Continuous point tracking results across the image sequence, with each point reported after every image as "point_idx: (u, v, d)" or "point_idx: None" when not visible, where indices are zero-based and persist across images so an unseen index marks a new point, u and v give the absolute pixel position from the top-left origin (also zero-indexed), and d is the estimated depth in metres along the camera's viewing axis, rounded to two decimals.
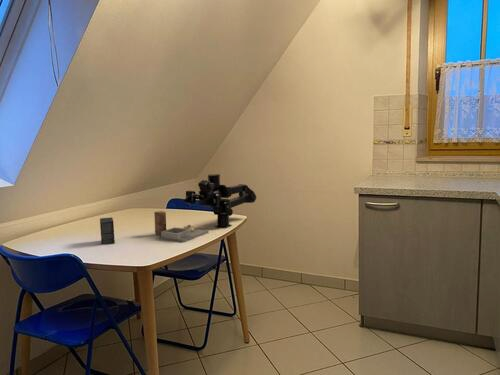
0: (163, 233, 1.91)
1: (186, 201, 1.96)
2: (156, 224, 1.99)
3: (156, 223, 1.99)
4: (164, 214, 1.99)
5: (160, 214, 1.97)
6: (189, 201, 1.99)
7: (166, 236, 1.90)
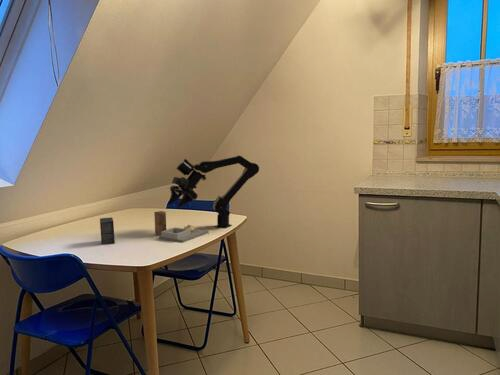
0: (163, 233, 1.91)
1: (171, 202, 2.08)
2: (156, 224, 1.99)
3: (156, 223, 1.99)
4: (164, 214, 1.99)
5: (160, 214, 1.97)
6: (175, 198, 2.09)
7: (166, 236, 1.90)
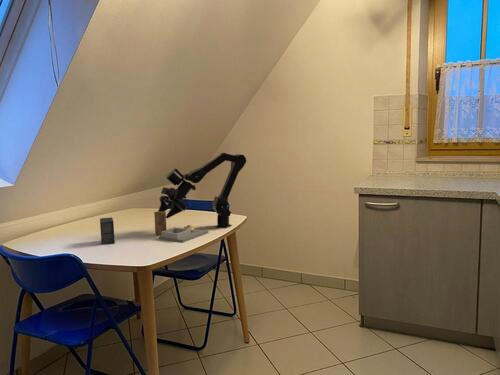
0: (163, 233, 1.91)
1: None
2: (156, 224, 1.99)
3: (156, 223, 1.99)
4: (164, 214, 1.99)
5: (160, 214, 1.97)
6: (164, 209, 2.06)
7: (166, 236, 1.90)
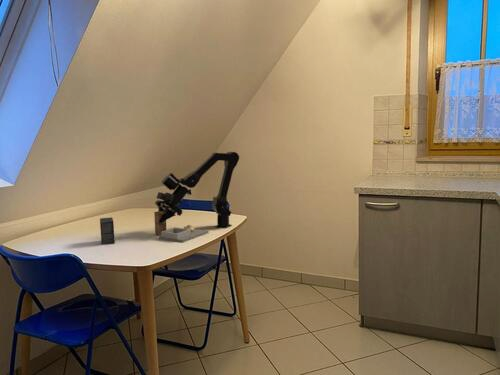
0: (163, 233, 1.91)
1: None
2: (156, 224, 1.99)
3: (156, 223, 1.99)
4: None
5: (160, 214, 1.97)
6: None
7: (166, 236, 1.90)
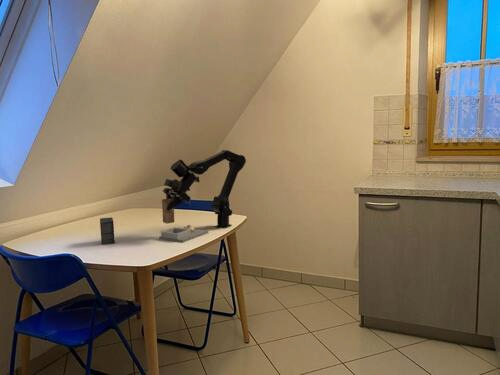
0: (163, 233, 1.91)
1: None
2: (164, 212, 1.94)
3: (164, 211, 1.94)
4: None
5: (167, 202, 1.93)
6: None
7: (166, 236, 1.90)
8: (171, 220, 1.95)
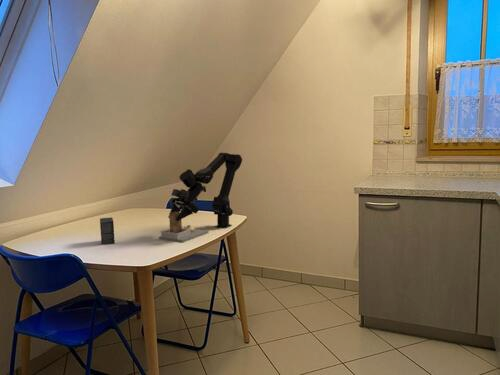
0: (163, 233, 1.91)
1: None
2: (171, 225, 1.92)
3: (171, 224, 1.92)
4: None
5: (175, 215, 1.90)
6: None
7: (166, 236, 1.90)
8: None
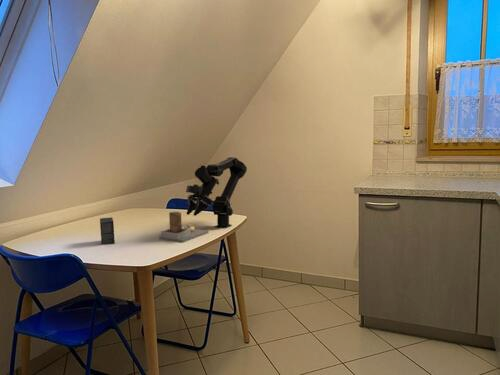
0: (163, 233, 1.91)
1: (190, 211, 2.02)
2: (171, 225, 1.92)
3: (171, 224, 1.92)
4: (179, 215, 1.91)
5: (175, 215, 1.90)
6: (193, 207, 2.03)
7: (166, 236, 1.90)
8: None
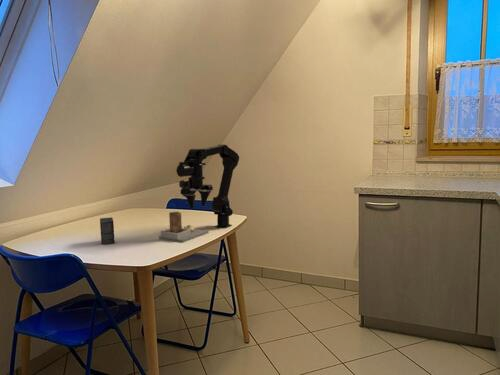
0: (163, 233, 1.91)
1: (203, 201, 2.04)
2: (171, 225, 1.92)
3: (171, 224, 1.92)
4: (179, 215, 1.91)
5: (175, 215, 1.90)
6: (204, 196, 2.03)
7: (166, 236, 1.90)
8: None
